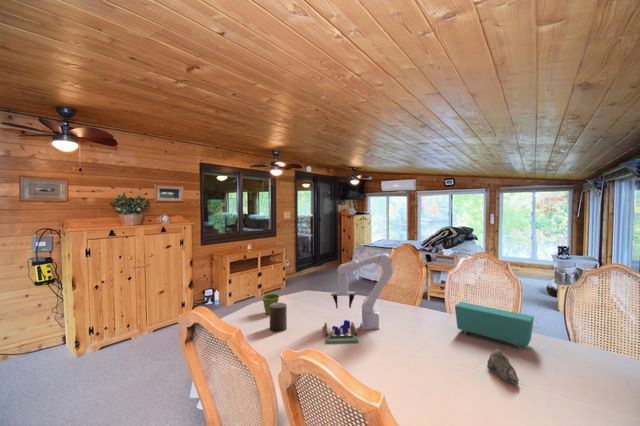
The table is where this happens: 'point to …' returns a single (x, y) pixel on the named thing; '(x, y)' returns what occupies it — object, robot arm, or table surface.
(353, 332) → the guide rails
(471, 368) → the table surface
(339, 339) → the header board
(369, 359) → the table surface
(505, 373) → the mineral rock
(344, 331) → the cable clip
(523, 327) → the radio
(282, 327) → the pillar candle
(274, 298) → the plant pot
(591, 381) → the table surface
